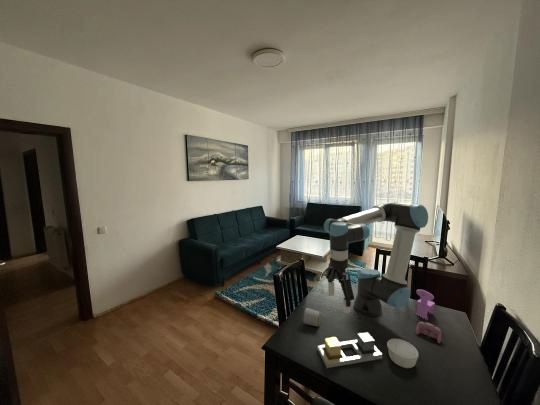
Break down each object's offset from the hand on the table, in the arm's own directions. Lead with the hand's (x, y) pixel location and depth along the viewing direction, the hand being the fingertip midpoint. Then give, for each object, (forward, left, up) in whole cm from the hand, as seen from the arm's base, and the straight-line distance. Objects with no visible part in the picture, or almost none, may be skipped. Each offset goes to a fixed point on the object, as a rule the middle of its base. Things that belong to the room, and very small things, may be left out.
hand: (338, 303), depth 98 cm
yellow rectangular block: (+5, +6, -21) cm, 22 cm away
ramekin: (-23, +12, -21) cm, 33 cm away
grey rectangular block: (-10, +6, -21) cm, 24 cm away
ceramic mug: (+5, -17, -21) cm, 28 cm away
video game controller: (-46, +3, -21) cm, 51 cm away
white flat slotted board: (-3, +6, -20) cm, 21 cm away
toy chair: (-59, -12, -21) cm, 64 cm away
